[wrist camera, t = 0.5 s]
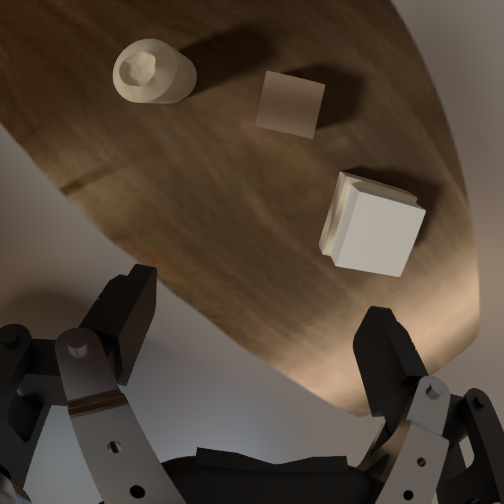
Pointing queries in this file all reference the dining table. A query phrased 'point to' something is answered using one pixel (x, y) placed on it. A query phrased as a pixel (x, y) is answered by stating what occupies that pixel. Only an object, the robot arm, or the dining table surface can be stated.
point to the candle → (153, 73)
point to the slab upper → (376, 231)
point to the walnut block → (289, 104)
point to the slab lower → (340, 199)
